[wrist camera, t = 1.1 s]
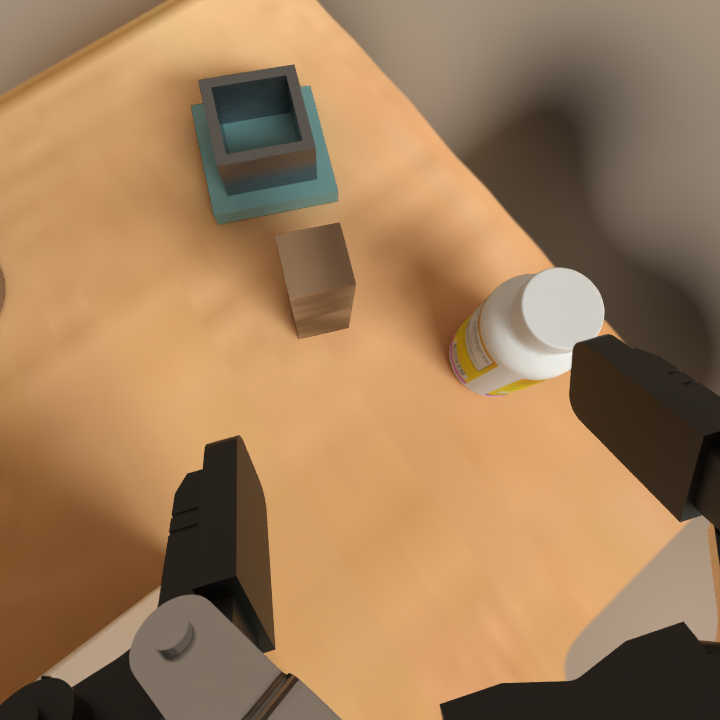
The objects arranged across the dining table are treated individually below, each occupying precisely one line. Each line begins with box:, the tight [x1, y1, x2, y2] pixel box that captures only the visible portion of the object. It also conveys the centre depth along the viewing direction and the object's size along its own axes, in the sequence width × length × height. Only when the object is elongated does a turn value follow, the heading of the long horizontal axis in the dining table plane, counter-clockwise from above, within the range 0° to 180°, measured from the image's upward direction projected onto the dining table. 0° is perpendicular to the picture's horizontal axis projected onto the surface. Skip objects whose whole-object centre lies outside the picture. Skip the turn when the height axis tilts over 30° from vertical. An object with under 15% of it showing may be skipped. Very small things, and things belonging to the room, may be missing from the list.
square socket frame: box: [198, 65, 317, 196], centre depth 37 cm, size 7×7×4 cm
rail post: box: [275, 222, 356, 339], centre depth 34 cm, size 4×4×10 cm
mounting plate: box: [191, 86, 338, 224], centre depth 40 cm, size 10×10×2 cm
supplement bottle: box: [449, 268, 604, 397], centre depth 32 cm, size 7×7×13 cm
